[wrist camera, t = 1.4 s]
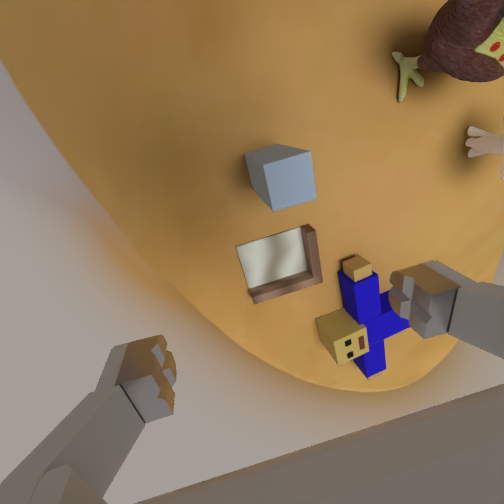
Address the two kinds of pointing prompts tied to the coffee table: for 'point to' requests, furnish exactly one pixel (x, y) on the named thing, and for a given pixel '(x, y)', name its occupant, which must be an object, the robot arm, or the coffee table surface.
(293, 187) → the block
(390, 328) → the toy
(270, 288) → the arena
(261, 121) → the coffee table surface
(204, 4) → the coffee table surface
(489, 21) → the figurine
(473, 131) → the figurine
